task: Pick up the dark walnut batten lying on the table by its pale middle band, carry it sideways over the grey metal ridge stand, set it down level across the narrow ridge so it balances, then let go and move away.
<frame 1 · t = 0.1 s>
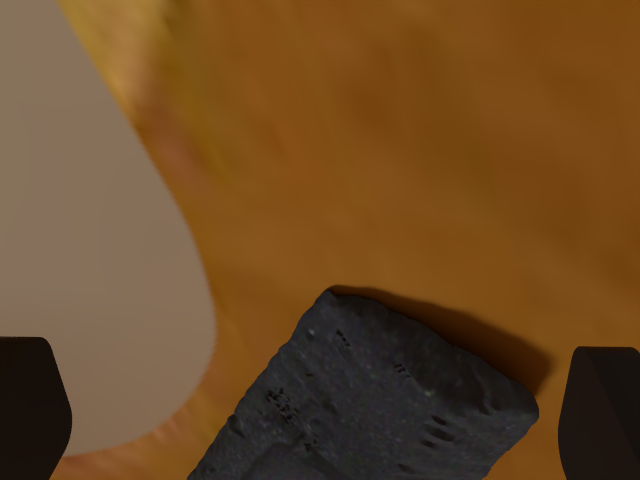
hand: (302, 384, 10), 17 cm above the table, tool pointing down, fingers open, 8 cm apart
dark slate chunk: (351, 446, 36), on the table
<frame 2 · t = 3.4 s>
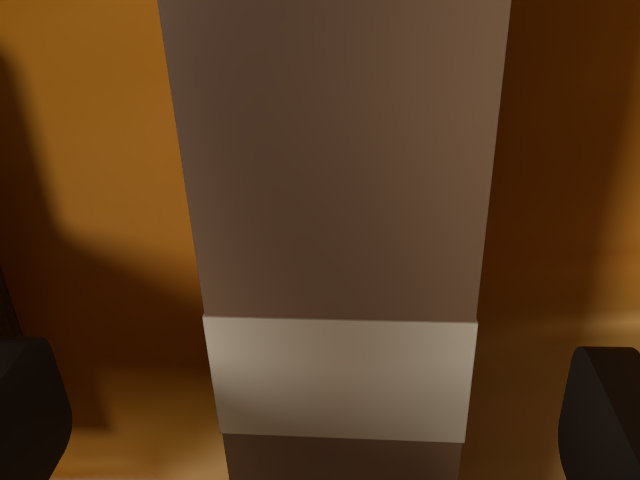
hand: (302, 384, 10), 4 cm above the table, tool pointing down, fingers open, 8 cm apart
batten: (349, 253, 13), on the table
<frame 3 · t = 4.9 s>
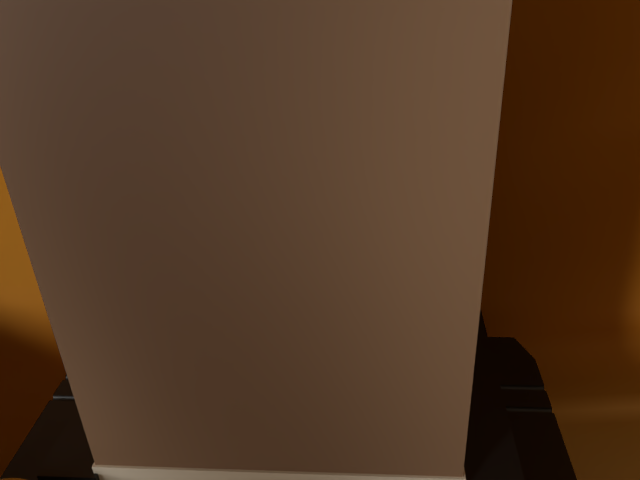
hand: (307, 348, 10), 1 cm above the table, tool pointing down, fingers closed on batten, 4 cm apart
batten: (311, 330, 11), on the table, touching gripper
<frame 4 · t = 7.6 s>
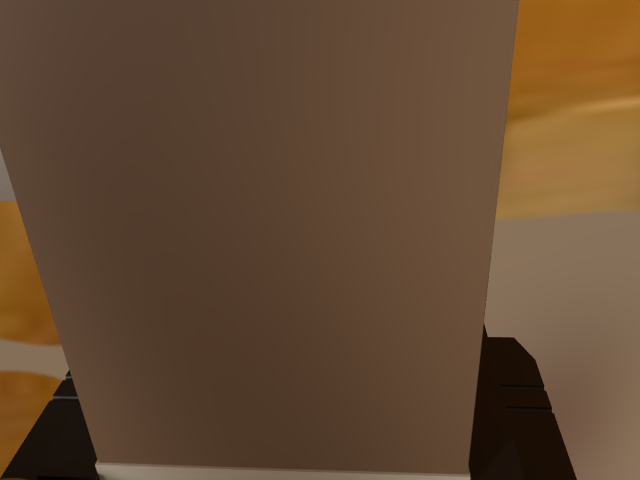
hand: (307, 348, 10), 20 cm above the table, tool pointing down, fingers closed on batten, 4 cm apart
batten: (314, 329, 11), point 19 cm above the table, touching gripper
ridge stand: (197, 82, 28), on the table
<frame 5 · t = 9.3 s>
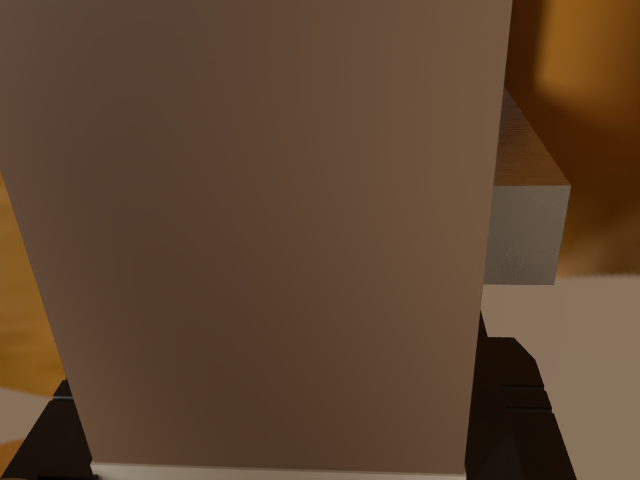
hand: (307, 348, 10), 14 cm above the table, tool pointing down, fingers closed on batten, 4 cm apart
batten: (311, 328, 11), point 13 cm above the table, touching gripper
ridge stand: (345, 102, 22), on the table
when the fingers open (12 cm above the table, at t = 10.6 s): batten drops 1 cm, resting on ridge stand.
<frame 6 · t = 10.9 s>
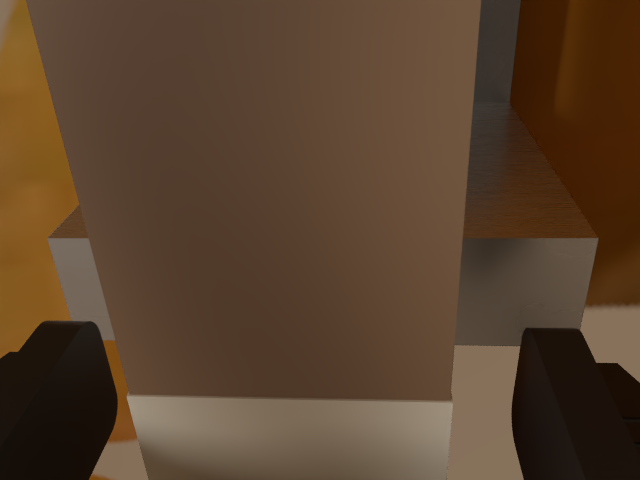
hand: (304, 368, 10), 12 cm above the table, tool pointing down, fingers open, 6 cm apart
batten: (316, 294, 12), point 10 cm above the table, touching ridge stand
ridge stand: (339, 123, 20), on the table
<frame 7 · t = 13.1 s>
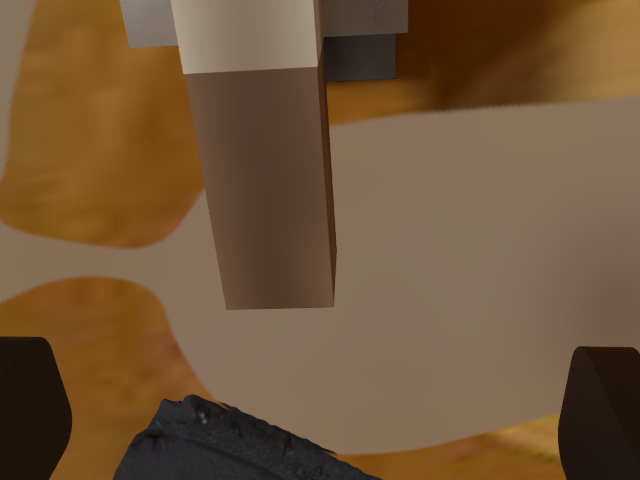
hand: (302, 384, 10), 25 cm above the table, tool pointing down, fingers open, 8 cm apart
batten: (263, 5, 21), point 10 cm above the table, touching ridge stand
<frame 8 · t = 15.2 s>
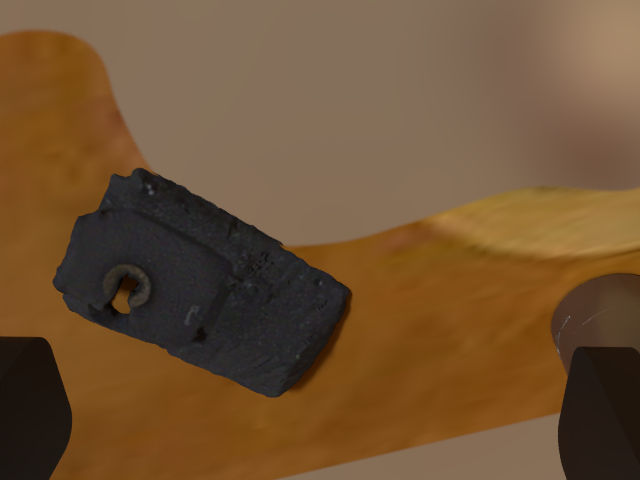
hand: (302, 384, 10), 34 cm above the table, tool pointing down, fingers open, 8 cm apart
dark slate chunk: (205, 287, 51), on the table
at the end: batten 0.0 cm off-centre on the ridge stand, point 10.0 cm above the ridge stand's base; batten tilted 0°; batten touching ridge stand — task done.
